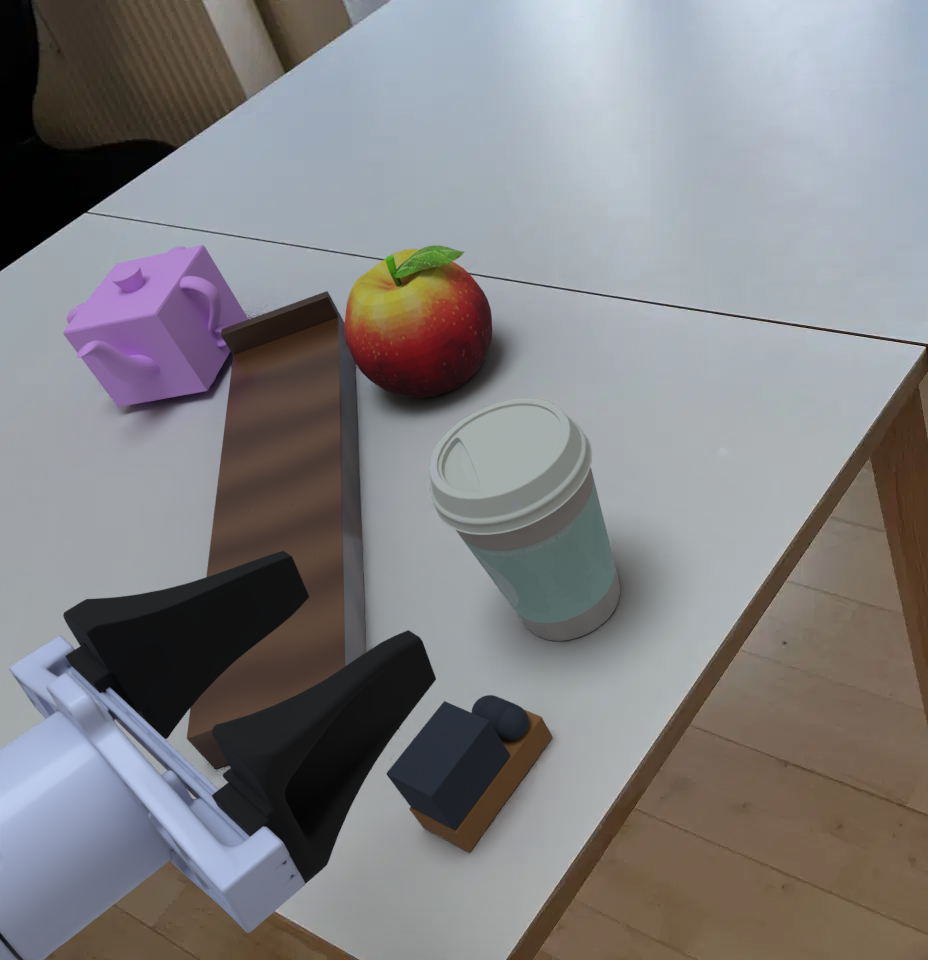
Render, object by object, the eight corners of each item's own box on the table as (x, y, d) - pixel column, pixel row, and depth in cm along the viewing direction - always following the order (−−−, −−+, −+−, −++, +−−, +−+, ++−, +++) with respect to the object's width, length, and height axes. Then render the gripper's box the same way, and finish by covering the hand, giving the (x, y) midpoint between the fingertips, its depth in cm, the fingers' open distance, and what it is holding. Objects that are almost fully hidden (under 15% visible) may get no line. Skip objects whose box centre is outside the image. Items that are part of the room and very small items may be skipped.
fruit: (390, 345, 89) (336, 238, 82) (517, 318, 87) (472, 207, 80) (361, 431, 81) (299, 320, 75) (500, 404, 79) (448, 288, 72)
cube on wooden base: (469, 853, 52) (431, 799, 49) (422, 827, 54) (382, 774, 51) (553, 736, 56) (522, 680, 53) (506, 716, 58) (473, 660, 55)
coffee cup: (523, 548, 67) (449, 397, 59) (656, 543, 64) (597, 384, 57) (481, 662, 61) (393, 511, 53) (627, 661, 58) (556, 502, 51)
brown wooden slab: (369, 714, 61) (328, 658, 57) (214, 769, 61) (165, 717, 57) (354, 340, 91) (327, 290, 88) (251, 377, 91) (221, 328, 88)
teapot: (214, 433, 86) (143, 328, 80) (65, 458, 90) (-16, 360, 83) (286, 302, 99) (229, 203, 93) (153, 329, 103) (90, 235, 96)
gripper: (1, 954, 25) (459, 604, 32) (-182, 684, 33) (210, 459, 41) (131, 1105, 29) (511, 763, 36) (-63, 829, 38) (274, 600, 45)
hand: (355, 612), depth 39 cm, fingers open, 7 cm apart
